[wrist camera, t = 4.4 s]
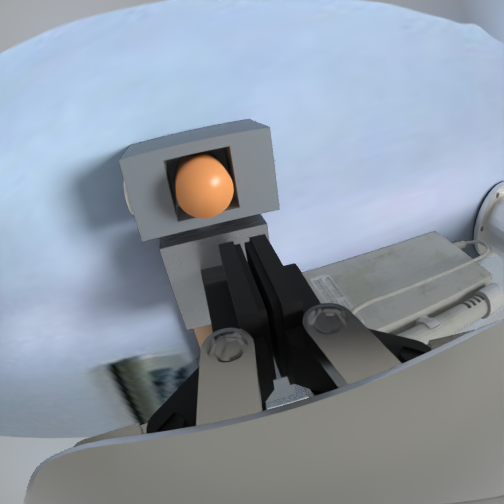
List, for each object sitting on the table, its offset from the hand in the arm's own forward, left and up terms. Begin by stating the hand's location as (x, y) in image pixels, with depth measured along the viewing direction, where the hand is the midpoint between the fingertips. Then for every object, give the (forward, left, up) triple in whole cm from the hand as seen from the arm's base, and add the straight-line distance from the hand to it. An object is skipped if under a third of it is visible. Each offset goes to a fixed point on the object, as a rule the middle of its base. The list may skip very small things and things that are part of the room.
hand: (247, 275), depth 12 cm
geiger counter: (-20, +14, -17) cm, 30 cm away
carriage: (0, +8, -14) cm, 16 cm away
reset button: (0, 0, -14) cm, 14 cm away
